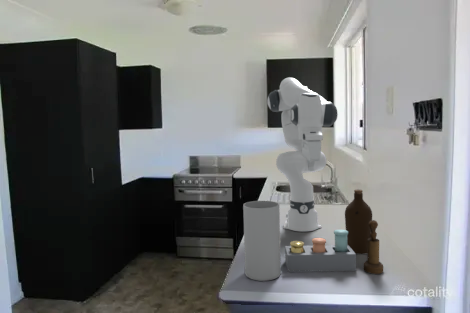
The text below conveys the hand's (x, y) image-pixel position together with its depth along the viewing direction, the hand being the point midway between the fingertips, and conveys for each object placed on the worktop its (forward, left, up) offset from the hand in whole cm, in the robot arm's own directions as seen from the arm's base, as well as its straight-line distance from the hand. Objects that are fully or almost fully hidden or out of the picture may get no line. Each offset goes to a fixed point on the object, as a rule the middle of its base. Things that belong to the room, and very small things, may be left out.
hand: (310, 170), depth 143 cm
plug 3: (+10, +9, -29) cm, 32 cm away
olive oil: (-6, +20, -34) cm, 40 cm away
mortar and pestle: (+15, +19, -34) cm, 42 cm away
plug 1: (+10, -7, -33) cm, 35 cm away
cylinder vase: (+17, -20, -34) cm, 43 cm away
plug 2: (+10, +1, -32) cm, 34 cm away
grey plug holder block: (+10, +1, -34) cm, 36 cm away
